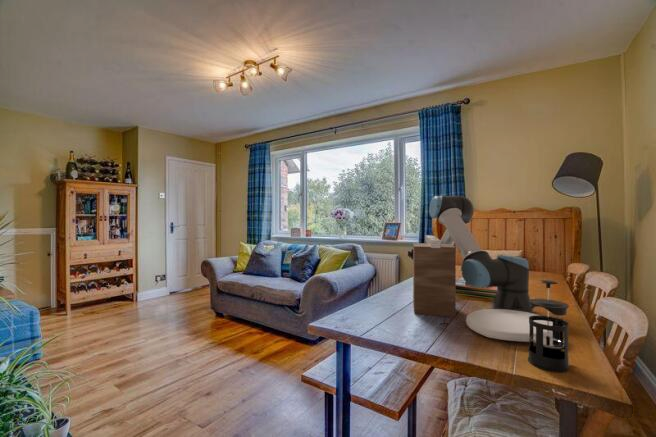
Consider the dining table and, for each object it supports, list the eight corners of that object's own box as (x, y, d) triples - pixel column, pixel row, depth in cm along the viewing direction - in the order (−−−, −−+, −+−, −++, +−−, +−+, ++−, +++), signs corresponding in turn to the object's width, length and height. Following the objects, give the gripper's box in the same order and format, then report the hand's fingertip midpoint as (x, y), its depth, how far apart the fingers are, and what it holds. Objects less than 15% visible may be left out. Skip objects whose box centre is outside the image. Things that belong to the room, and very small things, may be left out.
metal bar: (425, 241, 155) (425, 235, 155) (432, 241, 154) (432, 235, 154) (431, 247, 124) (431, 240, 124) (440, 248, 123) (440, 240, 123)
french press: (557, 376, 79) (557, 286, 79) (519, 361, 87) (519, 279, 87) (579, 365, 85) (579, 281, 85) (541, 352, 93) (542, 275, 93)
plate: (481, 331, 98) (455, 306, 124) (483, 351, 98) (457, 323, 124) (576, 324, 95) (529, 301, 122) (579, 345, 95) (531, 317, 122)
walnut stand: (413, 303, 145) (413, 243, 145) (449, 305, 141) (449, 243, 141) (414, 313, 129) (414, 246, 129) (455, 316, 126) (455, 247, 125)
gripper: (449, 270, 172) (455, 255, 154) (403, 268, 178) (403, 254, 160) (449, 258, 175) (454, 241, 157) (403, 256, 181) (403, 241, 163)
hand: (428, 248), depth 159 cm, fingers open, 13 cm apart
